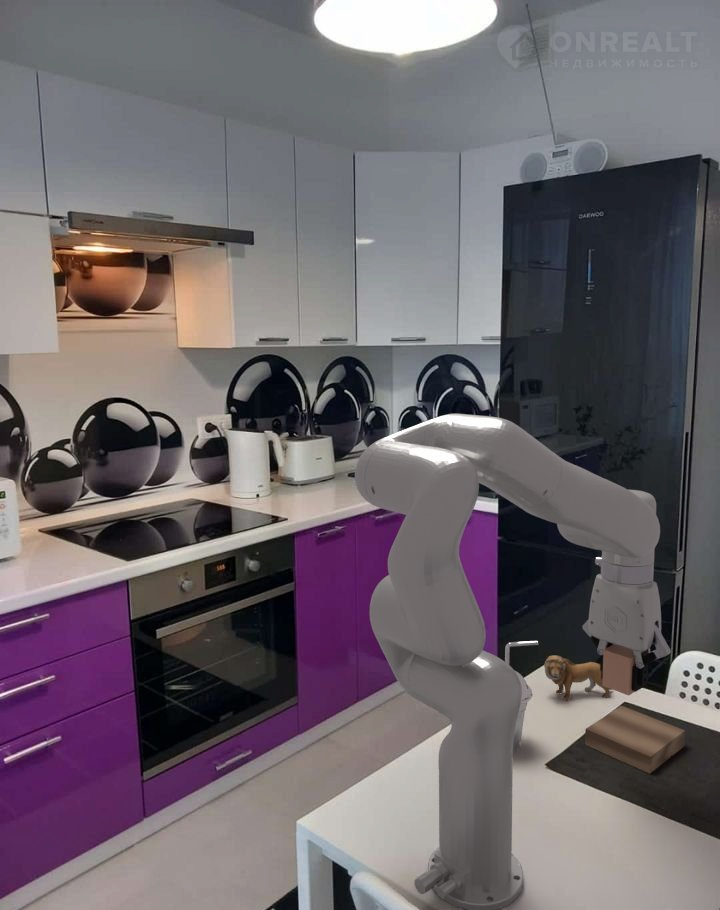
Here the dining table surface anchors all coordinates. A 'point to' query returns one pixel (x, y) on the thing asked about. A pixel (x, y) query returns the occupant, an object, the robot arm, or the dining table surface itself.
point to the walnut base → (635, 738)
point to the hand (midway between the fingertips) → (623, 681)
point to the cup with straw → (525, 695)
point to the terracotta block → (618, 669)
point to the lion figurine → (573, 674)
